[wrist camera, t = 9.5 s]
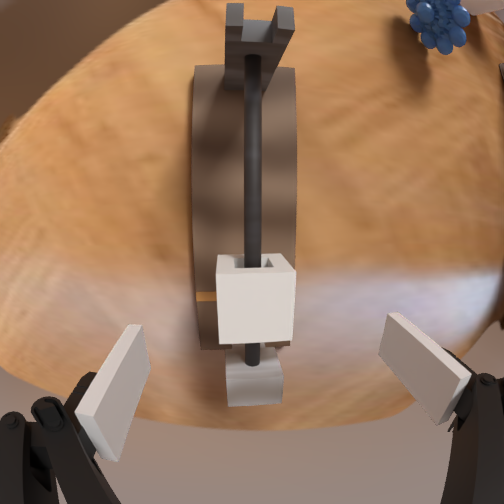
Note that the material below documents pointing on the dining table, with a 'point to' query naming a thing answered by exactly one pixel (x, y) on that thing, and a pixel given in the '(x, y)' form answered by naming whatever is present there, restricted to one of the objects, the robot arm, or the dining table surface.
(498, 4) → the foam cup
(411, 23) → the blue knobbed wheel
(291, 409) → the dining table surface
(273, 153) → the sliding block rail
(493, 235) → the dining table surface
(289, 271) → the sleeve
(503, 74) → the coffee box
